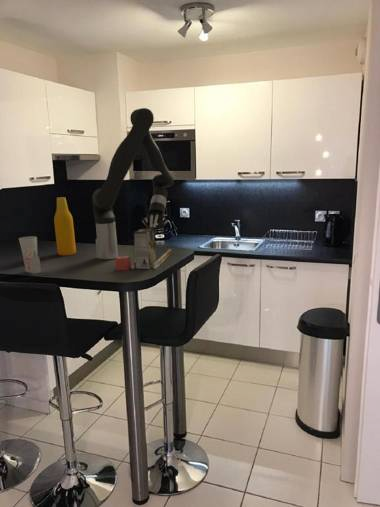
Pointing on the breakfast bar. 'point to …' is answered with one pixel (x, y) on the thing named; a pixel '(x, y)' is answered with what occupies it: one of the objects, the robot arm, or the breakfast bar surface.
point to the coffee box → (144, 248)
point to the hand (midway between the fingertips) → (151, 235)
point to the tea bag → (32, 262)
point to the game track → (157, 260)
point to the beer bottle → (64, 229)
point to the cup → (28, 244)
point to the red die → (122, 262)
